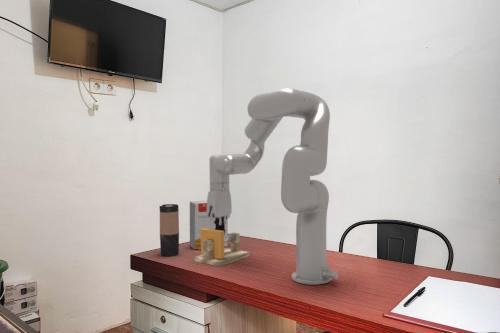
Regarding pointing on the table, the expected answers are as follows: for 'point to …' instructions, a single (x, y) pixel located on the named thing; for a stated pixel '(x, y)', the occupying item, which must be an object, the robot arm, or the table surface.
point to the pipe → (228, 238)
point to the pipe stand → (229, 254)
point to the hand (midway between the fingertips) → (220, 234)
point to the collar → (218, 241)
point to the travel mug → (169, 230)
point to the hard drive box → (201, 223)
